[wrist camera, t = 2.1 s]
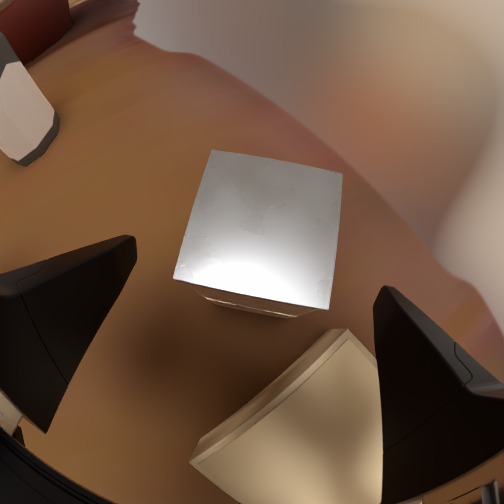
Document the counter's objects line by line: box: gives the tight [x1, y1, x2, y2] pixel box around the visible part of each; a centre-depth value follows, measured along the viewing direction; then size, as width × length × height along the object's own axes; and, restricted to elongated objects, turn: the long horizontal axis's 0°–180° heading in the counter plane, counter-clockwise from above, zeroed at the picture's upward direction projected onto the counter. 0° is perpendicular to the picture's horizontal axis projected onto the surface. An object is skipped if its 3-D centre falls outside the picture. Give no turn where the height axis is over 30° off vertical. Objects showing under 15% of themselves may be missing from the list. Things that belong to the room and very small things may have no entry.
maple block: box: [189, 329, 383, 504], centre depth 13 cm, size 12×12×4 cm
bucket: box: [0, 0, 72, 65], centre depth 21 cm, size 24×22×25 cm
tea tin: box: [173, 150, 343, 319], centre depth 14 cm, size 5×5×10 cm
